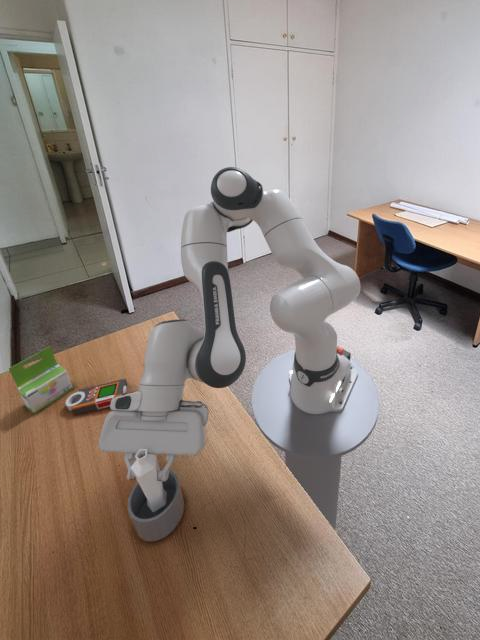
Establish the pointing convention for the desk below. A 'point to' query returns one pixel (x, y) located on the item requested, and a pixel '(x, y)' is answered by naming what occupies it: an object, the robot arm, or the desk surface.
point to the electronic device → (96, 396)
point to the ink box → (41, 380)
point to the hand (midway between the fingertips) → (147, 479)
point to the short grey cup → (163, 519)
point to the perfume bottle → (149, 479)
